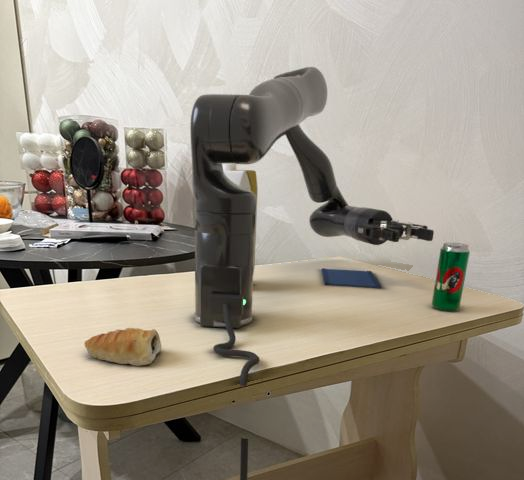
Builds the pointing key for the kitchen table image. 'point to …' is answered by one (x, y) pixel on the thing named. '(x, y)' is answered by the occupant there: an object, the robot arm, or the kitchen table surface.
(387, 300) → the kitchen table surface
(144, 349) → the pastry
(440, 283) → the soda can
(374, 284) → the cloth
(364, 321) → the kitchen table surface
